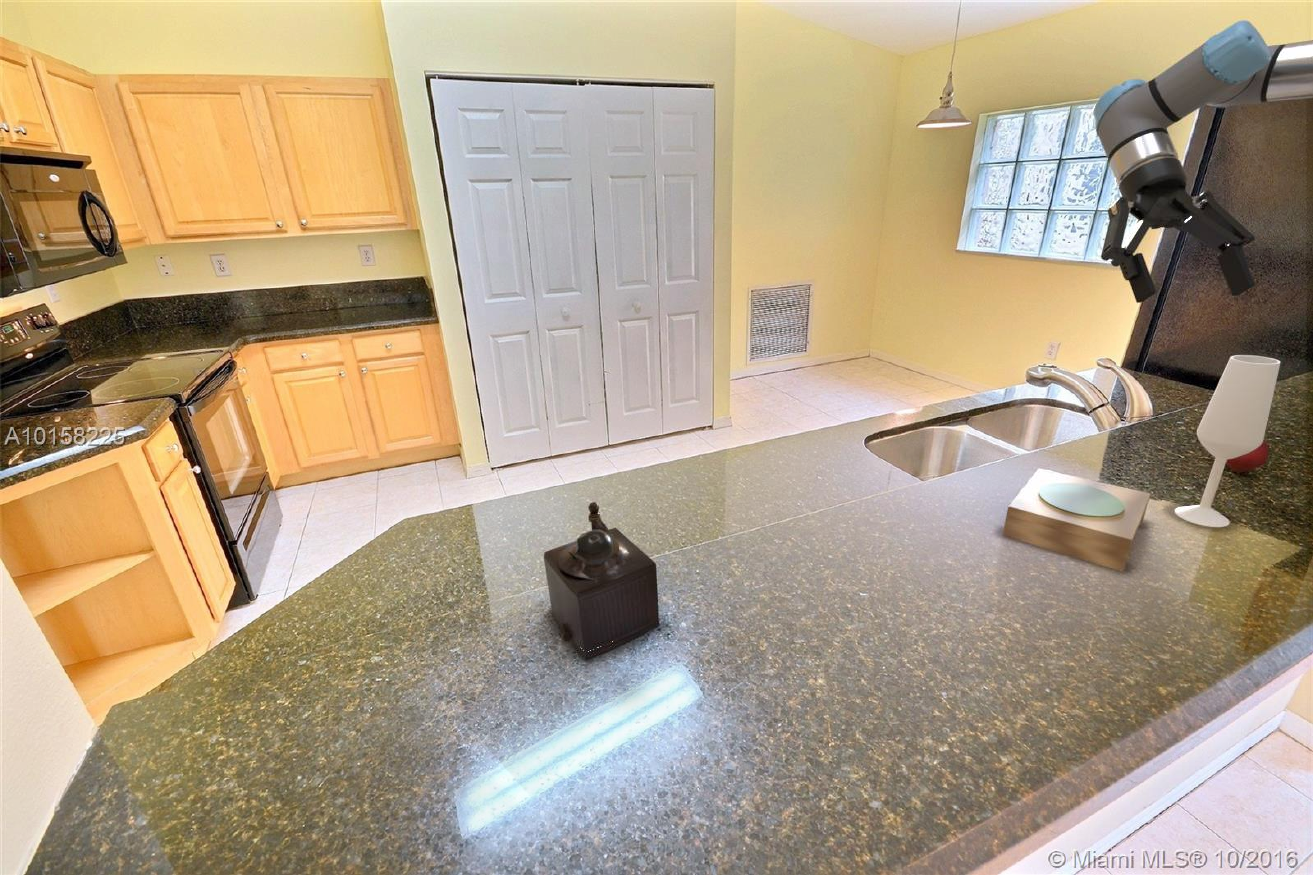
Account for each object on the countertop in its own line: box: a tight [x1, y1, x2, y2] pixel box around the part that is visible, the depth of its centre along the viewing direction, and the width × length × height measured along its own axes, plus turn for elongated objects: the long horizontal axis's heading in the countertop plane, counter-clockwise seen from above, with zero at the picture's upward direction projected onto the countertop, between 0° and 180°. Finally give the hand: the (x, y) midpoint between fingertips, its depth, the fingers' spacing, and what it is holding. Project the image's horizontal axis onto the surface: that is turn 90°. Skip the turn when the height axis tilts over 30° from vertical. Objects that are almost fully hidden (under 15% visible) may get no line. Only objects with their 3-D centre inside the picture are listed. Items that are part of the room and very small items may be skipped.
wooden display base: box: [1002, 468, 1152, 572], centre depth 83 cm, size 14×16×5 cm
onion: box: [1225, 438, 1270, 474], centre depth 96 cm, size 6×6×8 cm
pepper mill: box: [543, 501, 660, 661], centre depth 66 cm, size 16×11×18 cm
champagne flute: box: [1174, 354, 1281, 528], centre depth 81 cm, size 7×7×24 cm
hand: (1195, 294), depth 82 cm, fingers open, 13 cm apart
